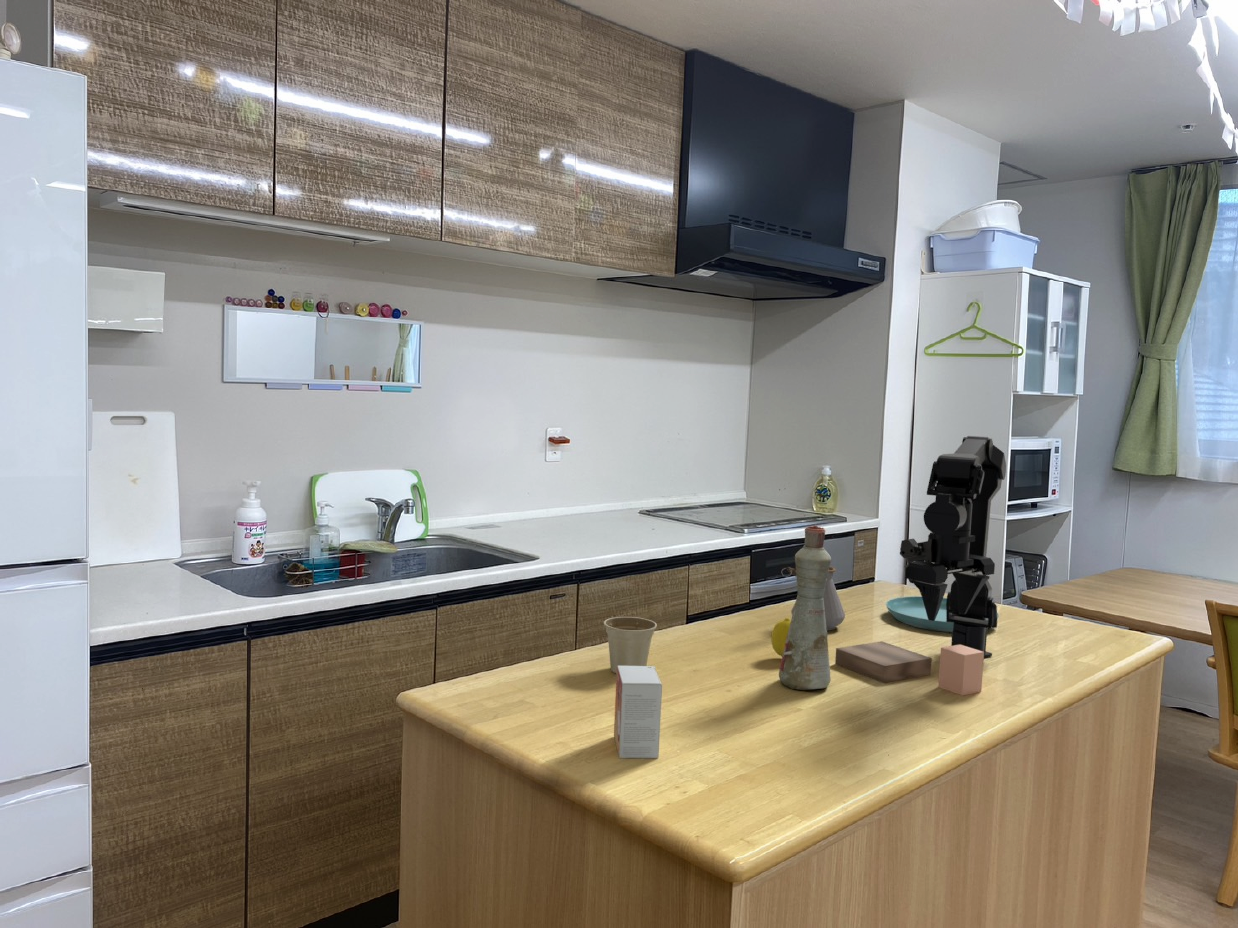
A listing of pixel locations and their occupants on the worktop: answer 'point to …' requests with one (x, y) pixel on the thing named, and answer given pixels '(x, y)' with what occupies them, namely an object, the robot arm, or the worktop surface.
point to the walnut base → (883, 661)
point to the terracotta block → (961, 669)
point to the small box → (637, 712)
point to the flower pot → (629, 641)
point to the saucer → (919, 613)
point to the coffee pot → (828, 601)
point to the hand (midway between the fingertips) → (947, 617)
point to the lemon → (780, 635)
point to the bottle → (808, 619)
